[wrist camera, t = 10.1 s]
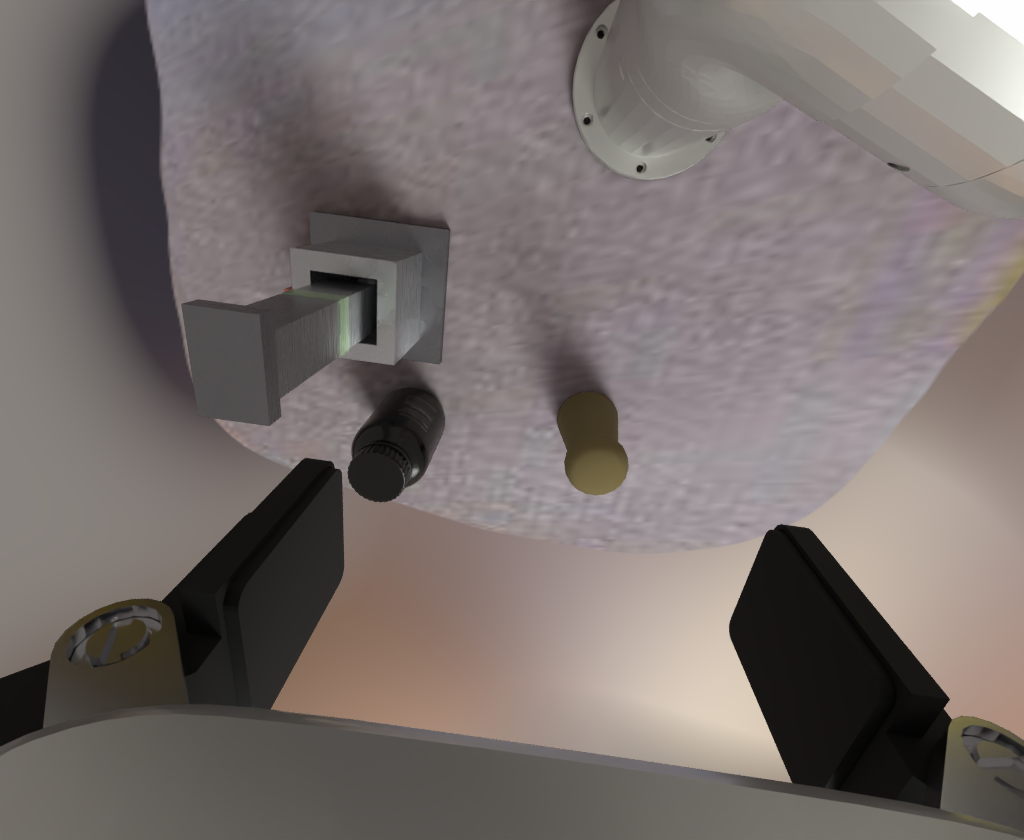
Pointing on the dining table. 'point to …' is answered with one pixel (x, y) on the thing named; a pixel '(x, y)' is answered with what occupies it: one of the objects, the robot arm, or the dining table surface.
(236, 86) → the dining table surface
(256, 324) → the column
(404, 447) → the supplement bottle
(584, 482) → the olive knobbed figure
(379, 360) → the stand base
